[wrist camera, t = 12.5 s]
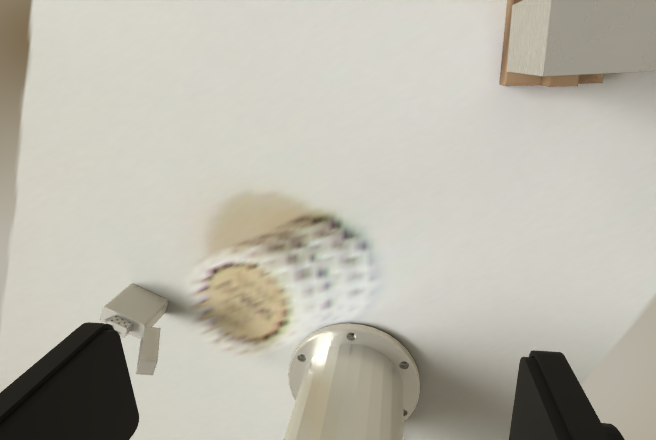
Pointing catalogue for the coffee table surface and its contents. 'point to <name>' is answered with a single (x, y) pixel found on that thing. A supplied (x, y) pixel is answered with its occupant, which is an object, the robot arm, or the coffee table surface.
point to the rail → (527, 79)
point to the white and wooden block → (582, 37)
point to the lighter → (137, 322)
